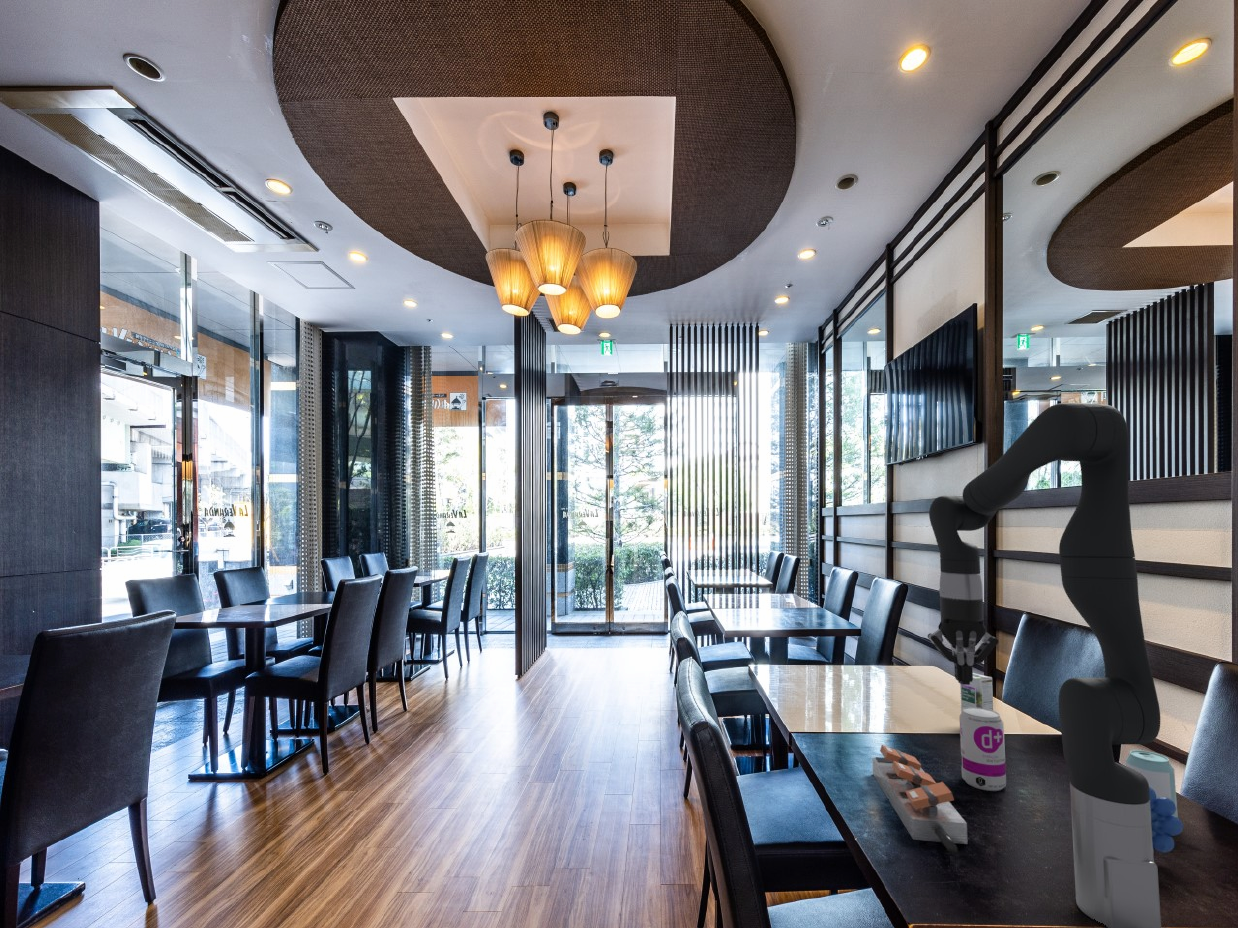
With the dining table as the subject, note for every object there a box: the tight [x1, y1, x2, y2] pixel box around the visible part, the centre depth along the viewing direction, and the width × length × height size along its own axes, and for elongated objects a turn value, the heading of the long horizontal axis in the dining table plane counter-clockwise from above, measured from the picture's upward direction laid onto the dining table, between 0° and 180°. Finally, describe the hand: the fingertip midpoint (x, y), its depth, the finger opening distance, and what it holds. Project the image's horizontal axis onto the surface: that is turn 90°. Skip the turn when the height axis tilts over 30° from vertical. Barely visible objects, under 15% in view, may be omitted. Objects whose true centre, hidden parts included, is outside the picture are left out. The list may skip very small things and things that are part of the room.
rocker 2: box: [892, 761, 937, 786], centre depth 122 cm, size 4×7×2 cm, turn 81°
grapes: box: [1149, 787, 1184, 854], centre depth 105 cm, size 12×7×12 cm, turn 62°
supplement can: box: [959, 707, 1007, 792], centre depth 132 cm, size 8×8×15 cm
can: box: [1125, 749, 1179, 819], centre depth 117 cm, size 7×7×12 cm
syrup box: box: [959, 672, 994, 714], centre depth 166 cm, size 6×6×14 cm
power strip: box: [872, 756, 968, 856], centre depth 119 cm, size 34×9×4 cm, turn 171°
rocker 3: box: [906, 781, 955, 809], centre depth 113 cm, size 4×7×2 cm, turn 81°
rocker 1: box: [879, 744, 922, 771], centre depth 131 cm, size 4×7×2 cm, turn 81°
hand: (964, 683), depth 122 cm, fingers closed
